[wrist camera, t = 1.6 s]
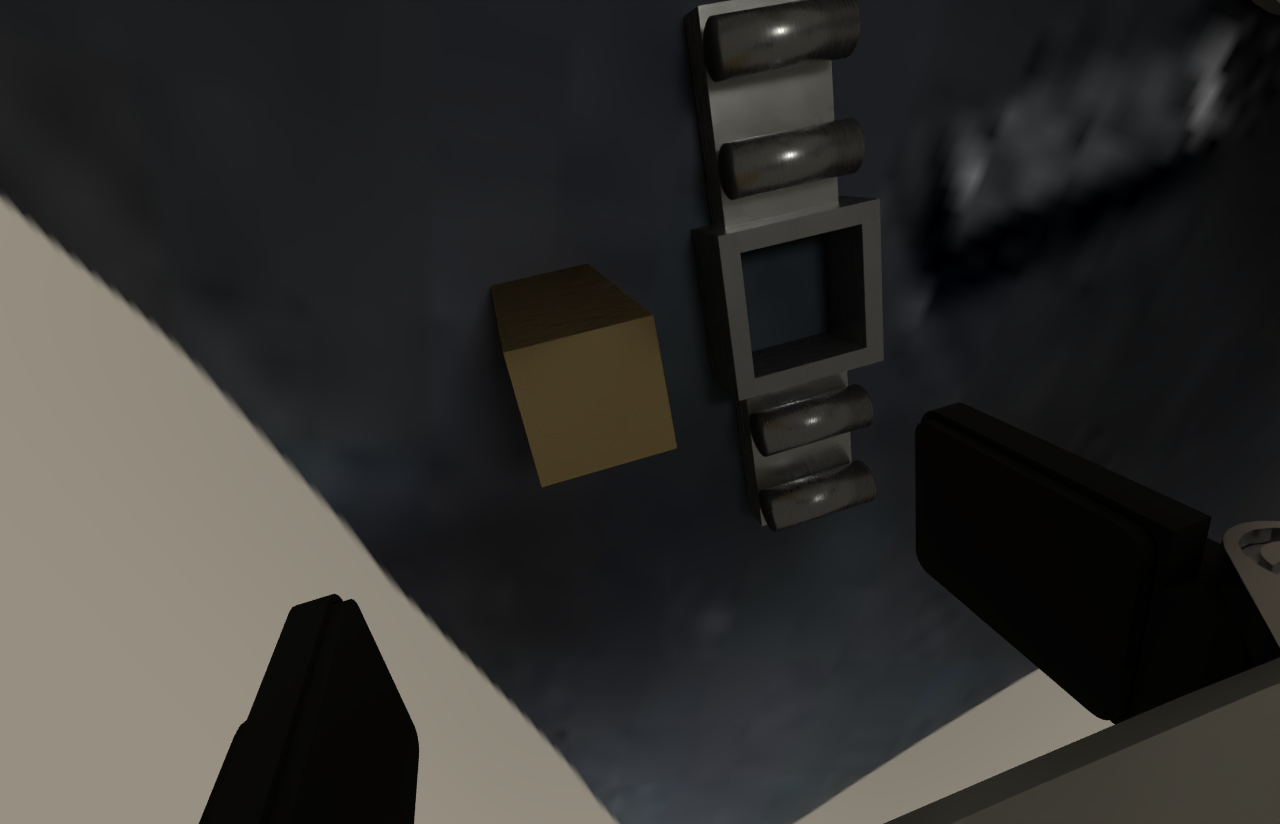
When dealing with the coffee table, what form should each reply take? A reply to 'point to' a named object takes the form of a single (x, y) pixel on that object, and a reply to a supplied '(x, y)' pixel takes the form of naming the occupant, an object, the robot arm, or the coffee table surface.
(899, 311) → the coffee table surface
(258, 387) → the coffee table surface
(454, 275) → the coffee table surface
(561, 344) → the brown rectangular block
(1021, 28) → the coffee table surface
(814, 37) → the grey segmented bar
